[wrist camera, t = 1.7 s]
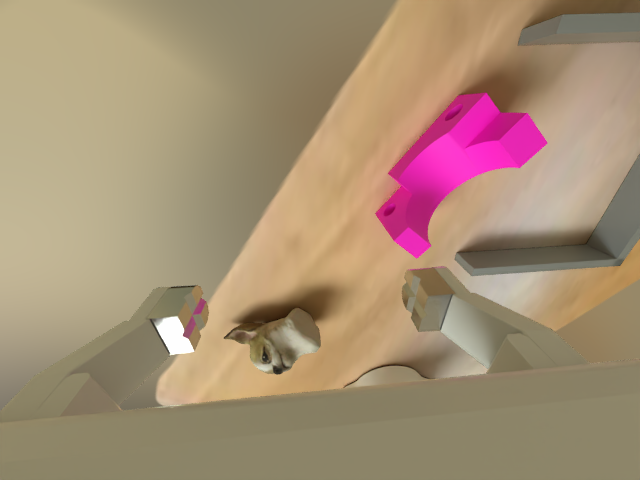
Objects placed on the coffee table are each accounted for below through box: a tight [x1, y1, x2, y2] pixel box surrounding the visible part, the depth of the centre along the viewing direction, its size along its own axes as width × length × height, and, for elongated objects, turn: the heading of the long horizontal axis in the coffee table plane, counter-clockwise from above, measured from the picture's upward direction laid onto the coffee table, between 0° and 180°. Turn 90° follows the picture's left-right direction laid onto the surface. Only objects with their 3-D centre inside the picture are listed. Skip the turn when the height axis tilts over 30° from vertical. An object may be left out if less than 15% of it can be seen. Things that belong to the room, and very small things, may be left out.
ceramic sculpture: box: [224, 308, 321, 374], centre depth 36 cm, size 11×9×15 cm
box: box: [455, 13, 640, 276], centre depth 28 cm, size 26×21×4 cm
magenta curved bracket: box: [375, 93, 547, 258], centre depth 25 cm, size 15×6×8 cm, turn 141°
